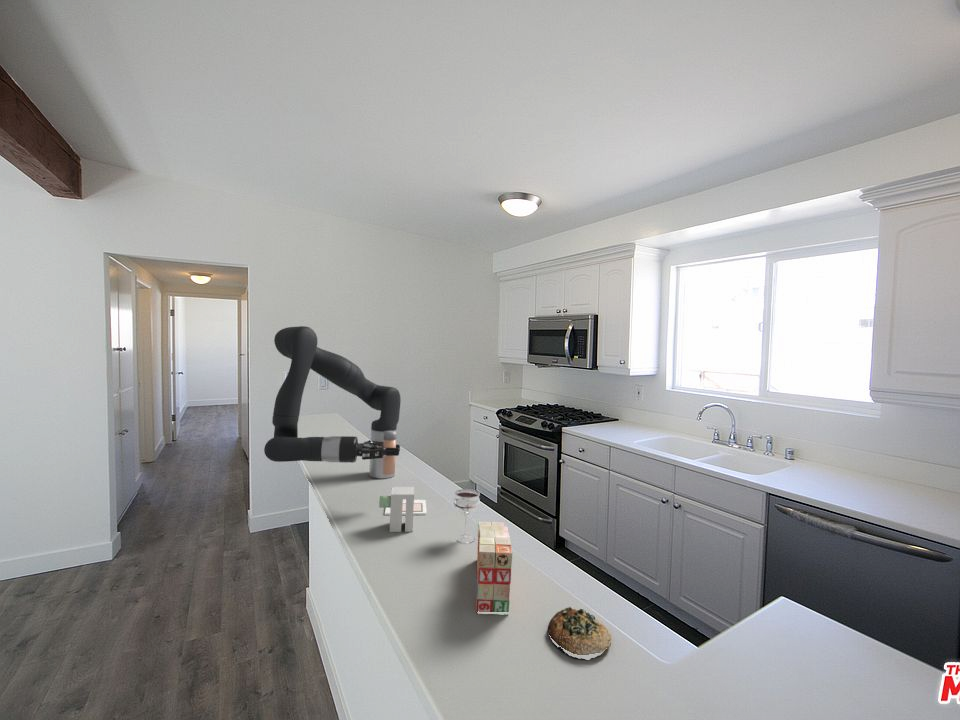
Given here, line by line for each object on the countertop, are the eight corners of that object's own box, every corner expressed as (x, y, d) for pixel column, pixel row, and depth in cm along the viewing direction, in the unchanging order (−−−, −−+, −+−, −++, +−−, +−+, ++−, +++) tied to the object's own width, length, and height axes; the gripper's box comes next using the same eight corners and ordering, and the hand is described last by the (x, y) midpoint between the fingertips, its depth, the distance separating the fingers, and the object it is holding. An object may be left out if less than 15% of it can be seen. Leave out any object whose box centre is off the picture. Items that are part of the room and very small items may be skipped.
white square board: (387, 501, 139) (387, 499, 139) (425, 501, 140) (425, 499, 140) (384, 515, 128) (384, 513, 128) (426, 514, 130) (426, 512, 130)
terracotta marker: (382, 471, 134) (384, 430, 133) (395, 471, 134) (397, 430, 134) (381, 475, 130) (383, 433, 129) (394, 475, 130) (396, 433, 130)
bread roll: (543, 616, 83) (548, 591, 83) (601, 628, 83) (607, 603, 82) (549, 661, 72) (555, 632, 72) (617, 675, 72) (623, 646, 71)
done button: (380, 505, 121) (380, 494, 120) (394, 505, 121) (395, 494, 121) (379, 509, 118) (379, 498, 117) (394, 509, 118) (394, 498, 118)
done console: (390, 522, 123) (392, 487, 122) (412, 522, 124) (414, 487, 123) (389, 532, 117) (391, 494, 116) (412, 531, 118) (414, 494, 117)
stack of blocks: (476, 559, 104) (479, 508, 104) (503, 560, 104) (505, 509, 104) (475, 615, 83) (478, 550, 82) (509, 616, 83) (512, 552, 83)
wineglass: (475, 546, 111) (477, 499, 110) (448, 542, 112) (451, 496, 112) (480, 535, 117) (482, 490, 117) (455, 532, 119) (457, 487, 118)
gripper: (335, 442, 123) (398, 442, 125) (344, 431, 137) (401, 432, 139) (334, 468, 123) (397, 469, 125) (343, 455, 137) (400, 456, 139)
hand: (399, 449), depth 132 cm, fingers closed on terracotta marker, 3 cm apart
